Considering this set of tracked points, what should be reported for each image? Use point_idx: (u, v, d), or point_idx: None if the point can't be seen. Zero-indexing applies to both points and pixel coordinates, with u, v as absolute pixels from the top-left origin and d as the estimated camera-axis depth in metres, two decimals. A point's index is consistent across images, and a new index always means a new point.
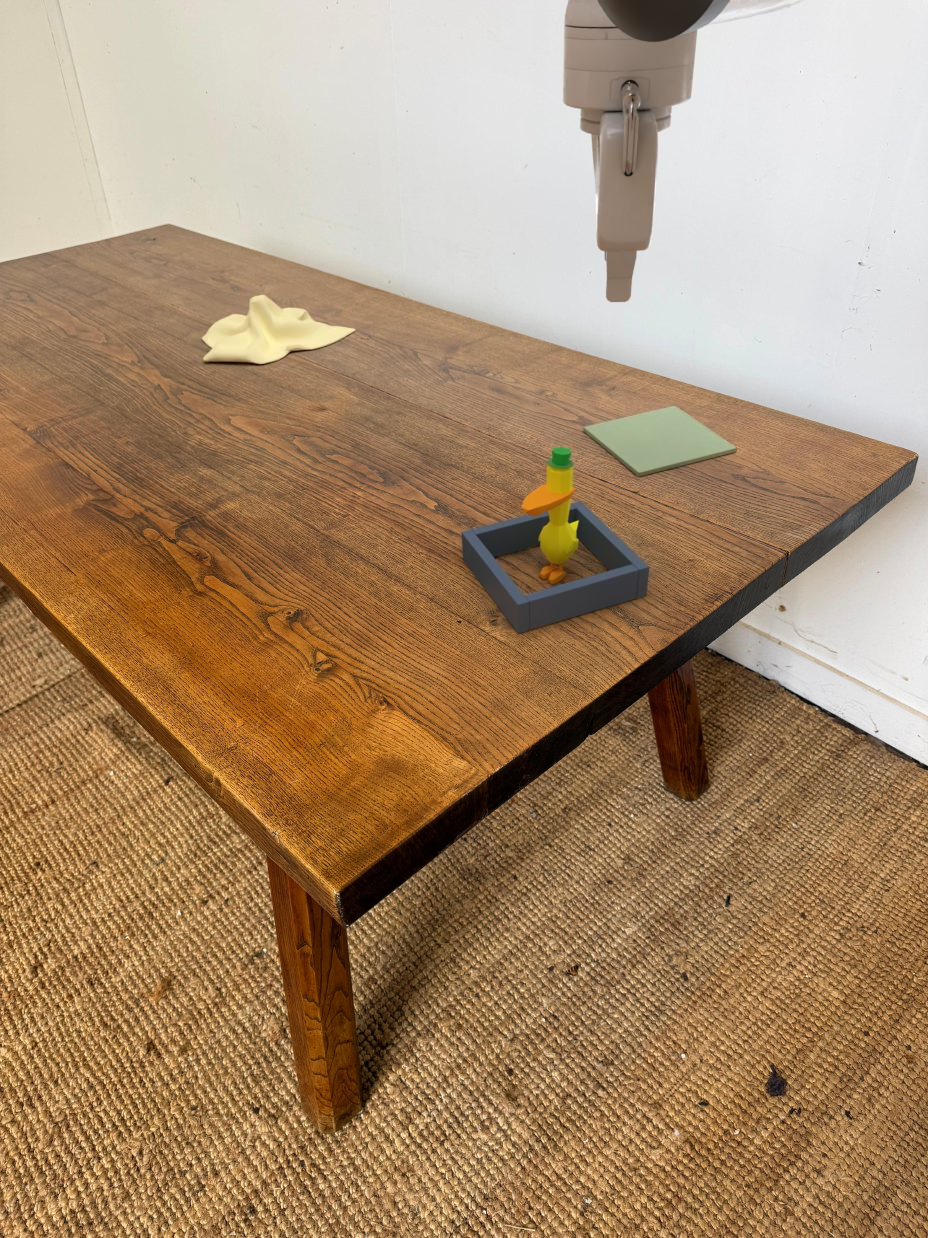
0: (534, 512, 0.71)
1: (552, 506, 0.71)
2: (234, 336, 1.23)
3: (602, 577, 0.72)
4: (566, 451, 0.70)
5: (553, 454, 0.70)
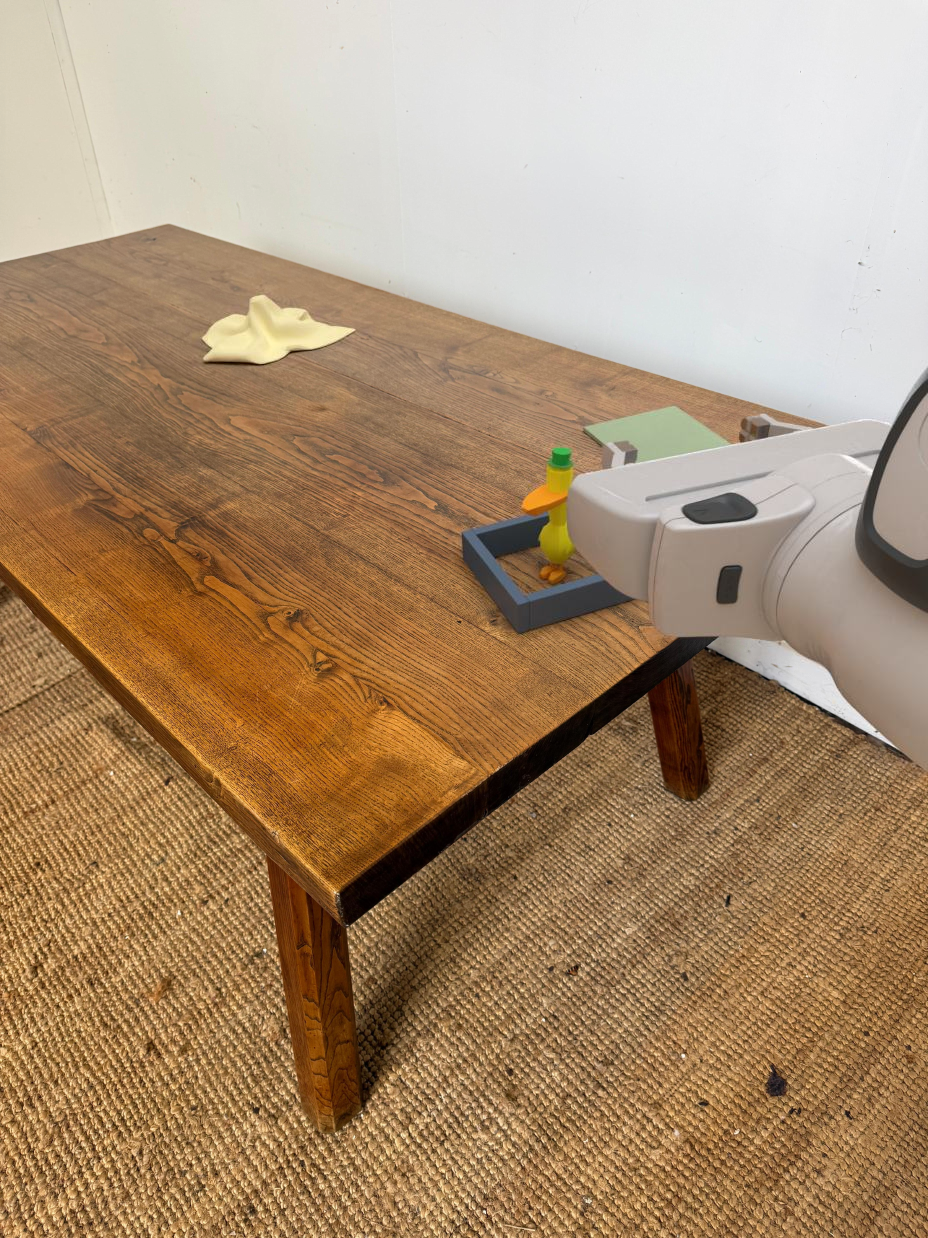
0: (534, 512, 0.71)
1: (552, 506, 0.71)
2: (234, 336, 1.23)
3: (602, 577, 0.72)
4: (566, 451, 0.70)
5: (553, 454, 0.70)
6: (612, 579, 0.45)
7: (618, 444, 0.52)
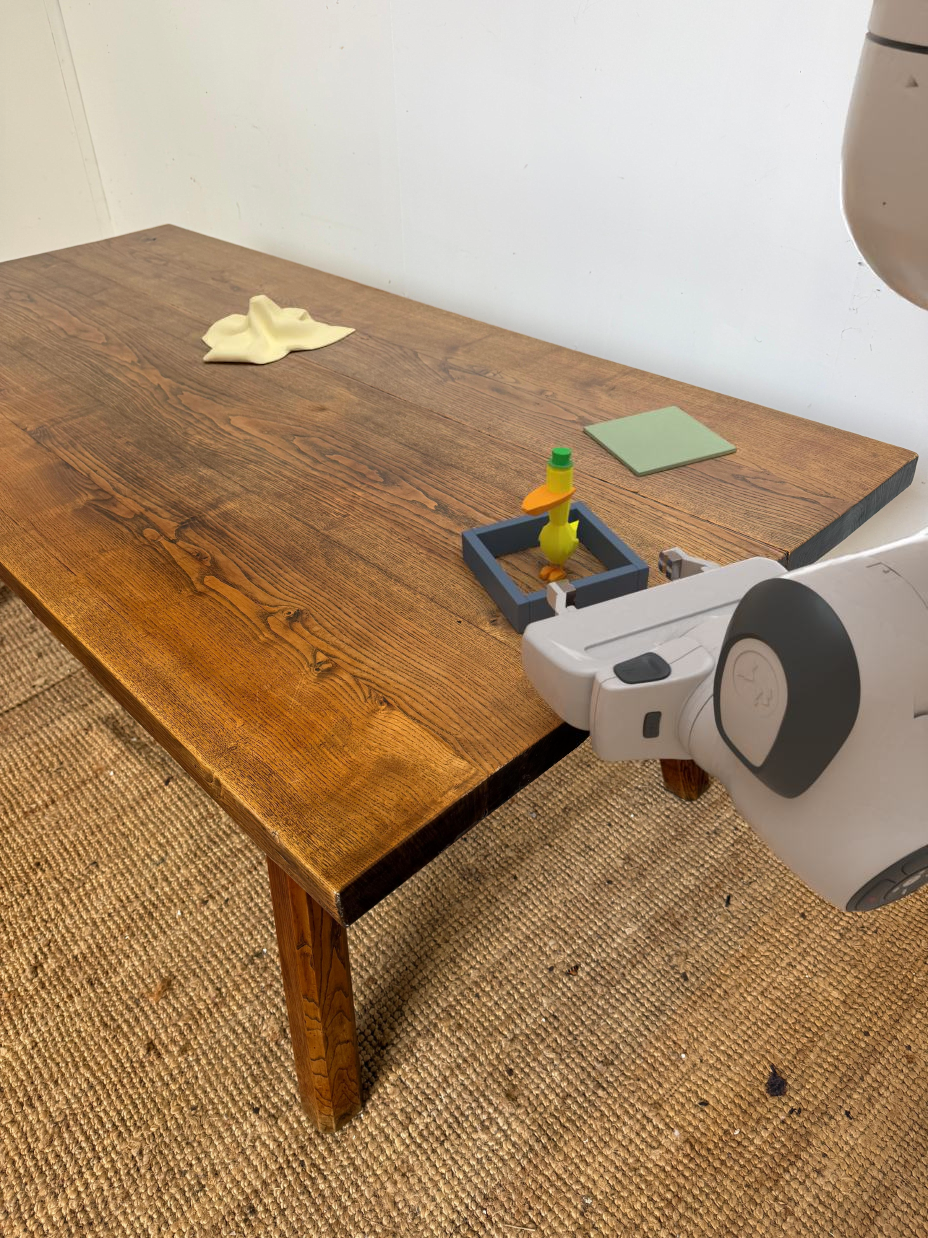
0: (534, 512, 0.71)
1: (552, 506, 0.71)
2: (234, 336, 1.23)
3: (602, 577, 0.72)
4: (566, 451, 0.70)
5: (553, 454, 0.70)
6: (561, 713, 0.57)
7: (560, 584, 0.63)
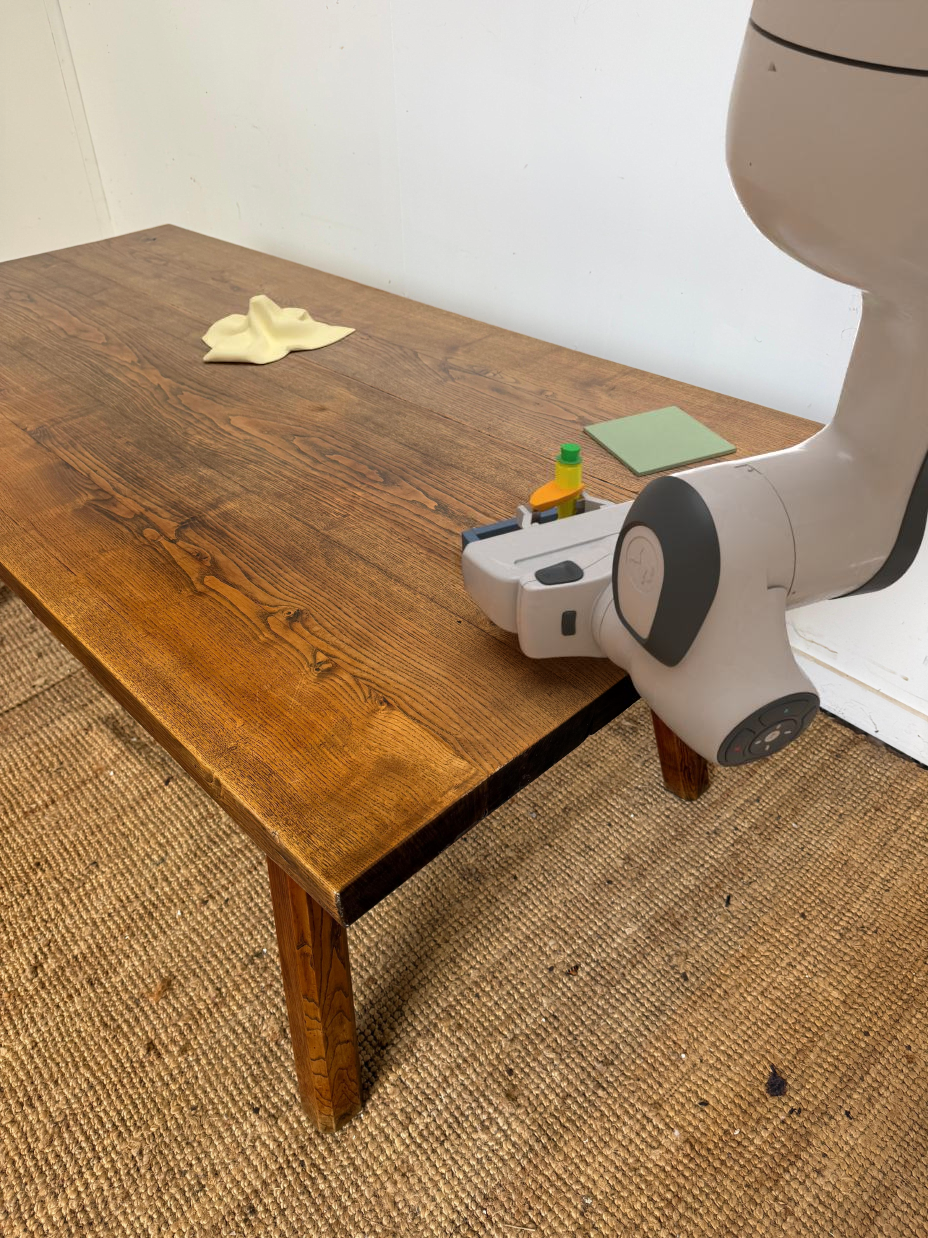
0: (541, 507, 0.71)
1: (560, 502, 0.71)
2: (234, 336, 1.23)
3: None
4: (575, 447, 0.71)
5: (562, 450, 0.71)
6: (494, 618, 0.65)
7: (527, 506, 0.72)
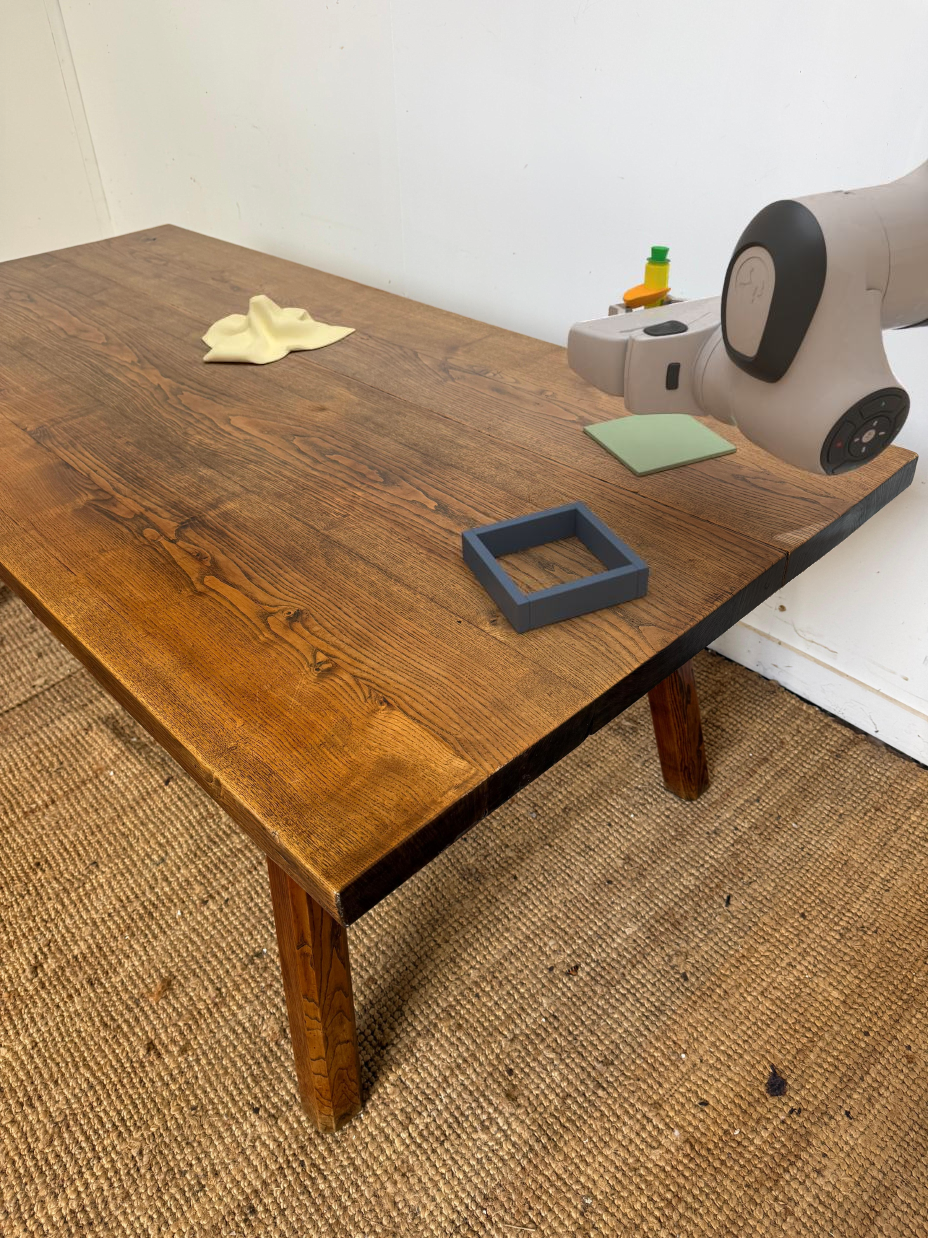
0: (634, 302, 0.78)
1: (650, 298, 0.79)
2: (234, 336, 1.23)
3: (602, 577, 0.72)
4: (664, 248, 0.78)
5: (652, 250, 0.78)
6: (600, 384, 0.72)
7: (619, 305, 0.79)
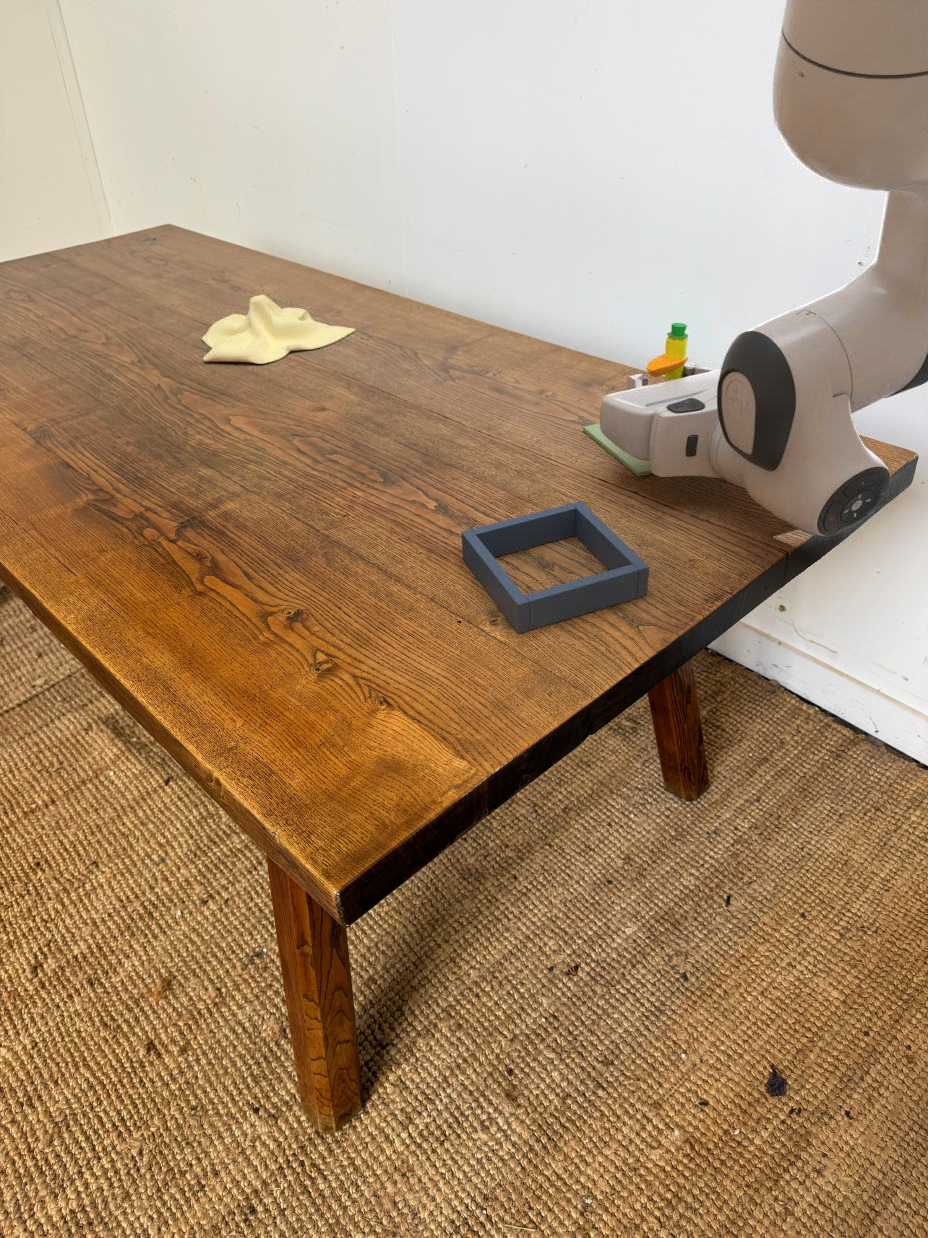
0: (656, 372, 0.90)
1: (670, 368, 0.90)
2: (234, 336, 1.23)
3: (602, 577, 0.72)
4: (683, 325, 0.90)
5: (672, 327, 0.90)
6: (628, 449, 0.84)
7: (636, 376, 0.91)
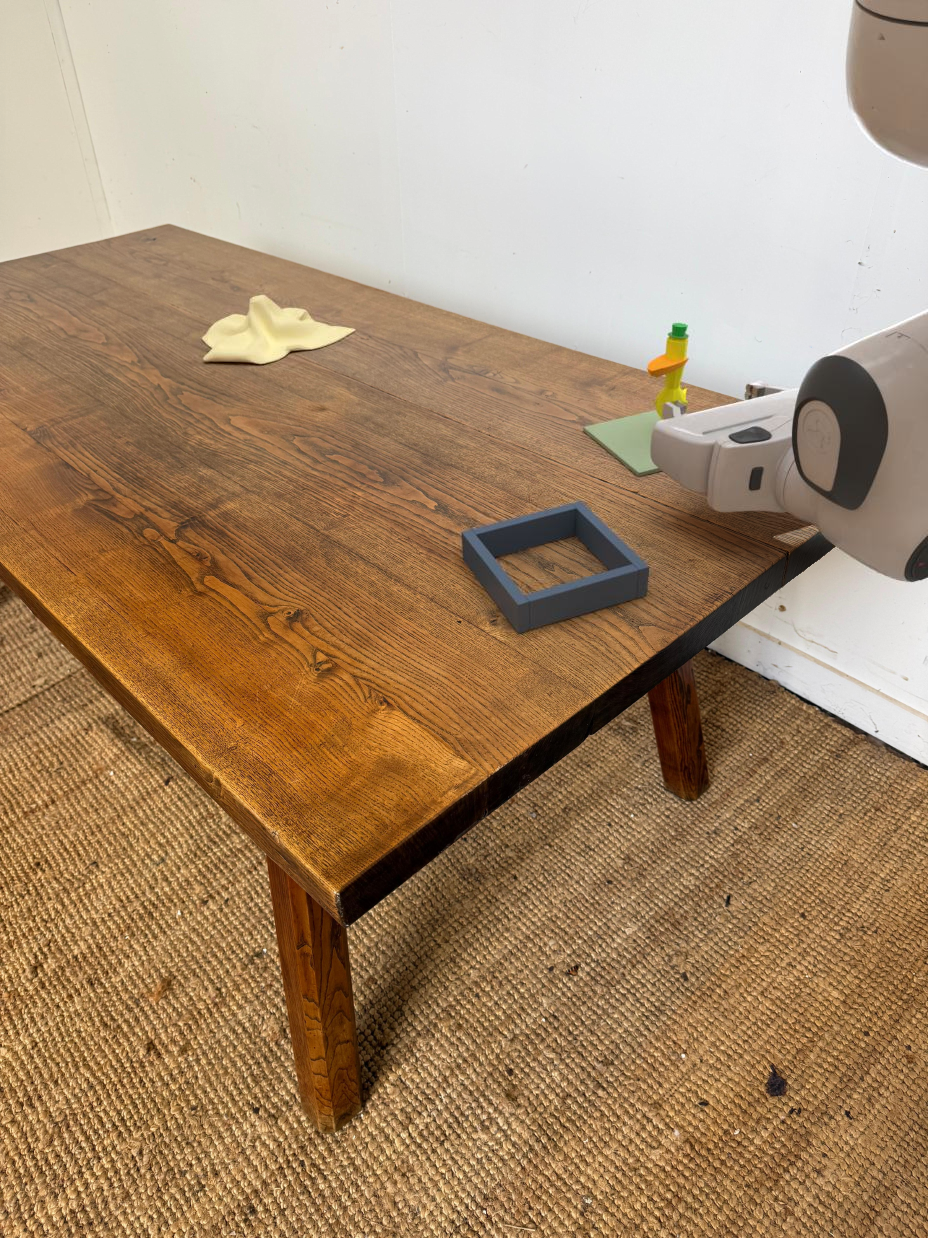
0: (657, 372, 0.90)
1: (671, 369, 0.90)
2: (234, 336, 1.23)
3: (602, 577, 0.72)
4: (683, 325, 0.90)
5: (673, 327, 0.90)
6: (684, 482, 0.77)
7: (673, 402, 0.83)
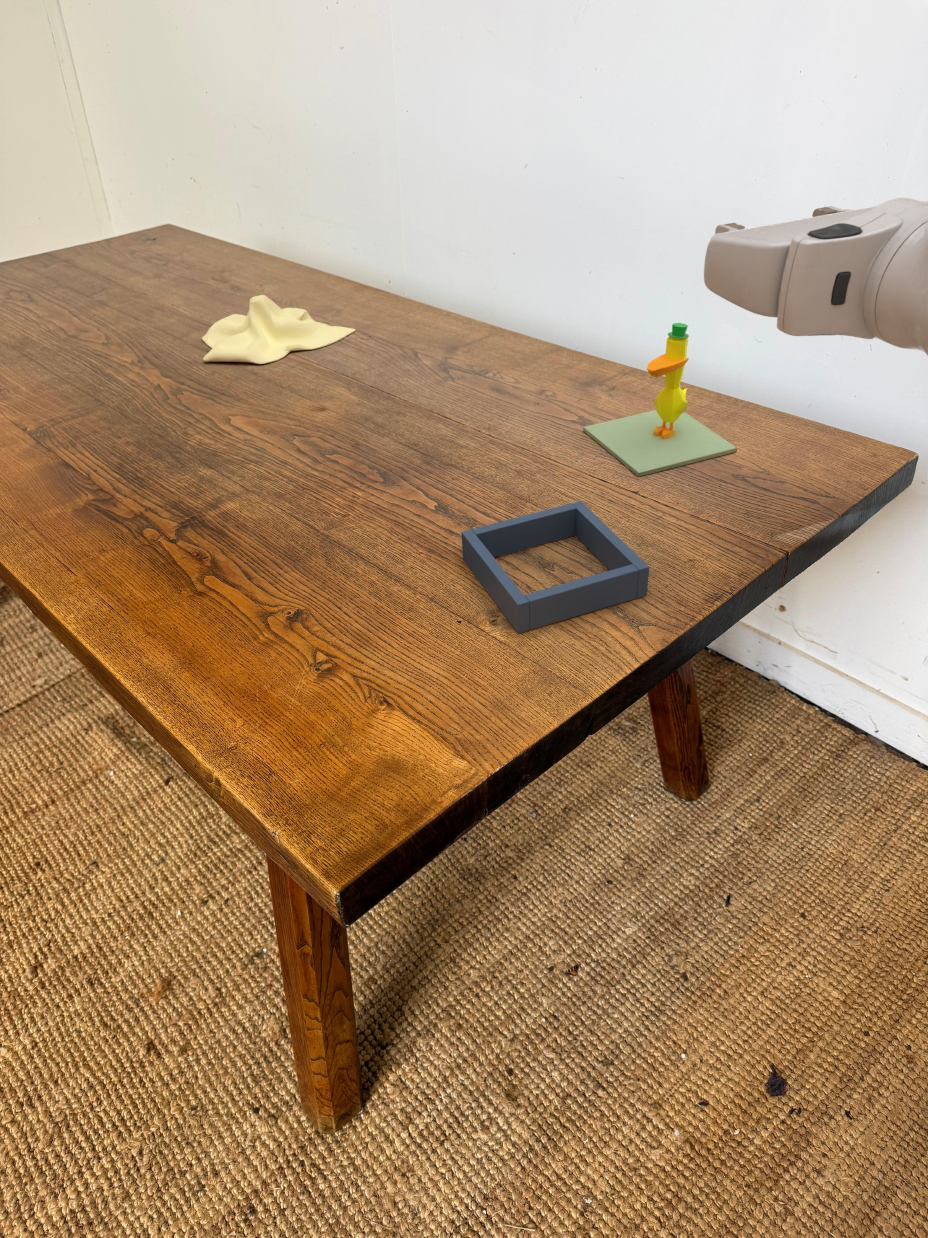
0: (657, 372, 0.90)
1: (671, 369, 0.90)
2: (234, 336, 1.23)
3: (602, 577, 0.72)
4: (683, 325, 0.90)
5: (673, 327, 0.90)
6: (747, 302, 0.62)
7: (729, 224, 0.69)
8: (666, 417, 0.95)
